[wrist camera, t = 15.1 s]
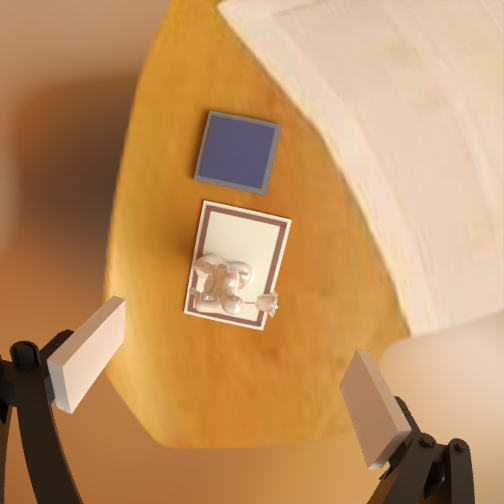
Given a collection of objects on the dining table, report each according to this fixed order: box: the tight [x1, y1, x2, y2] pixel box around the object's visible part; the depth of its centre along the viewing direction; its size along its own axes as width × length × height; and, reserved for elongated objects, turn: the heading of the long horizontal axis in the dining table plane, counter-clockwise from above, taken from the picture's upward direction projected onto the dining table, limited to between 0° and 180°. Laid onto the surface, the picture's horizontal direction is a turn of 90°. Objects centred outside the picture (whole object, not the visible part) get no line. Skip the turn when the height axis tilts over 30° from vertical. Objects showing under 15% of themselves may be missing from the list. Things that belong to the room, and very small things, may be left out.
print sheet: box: [184, 200, 292, 330], centre depth 35 cm, size 14×10×1 cm
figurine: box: [189, 254, 278, 318], centre depth 29 cm, size 5×9×12 cm, turn 87°
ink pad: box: [194, 111, 282, 195], centre depth 31 cm, size 8×8×1 cm
